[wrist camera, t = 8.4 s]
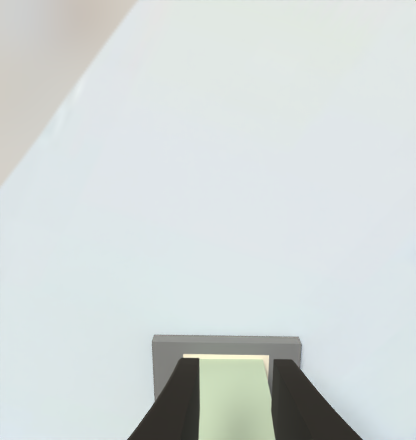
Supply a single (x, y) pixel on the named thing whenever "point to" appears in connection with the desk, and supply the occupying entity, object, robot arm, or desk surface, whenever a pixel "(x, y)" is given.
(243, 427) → the green domino
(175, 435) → the robot arm
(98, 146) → the desk surface
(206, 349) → the board
